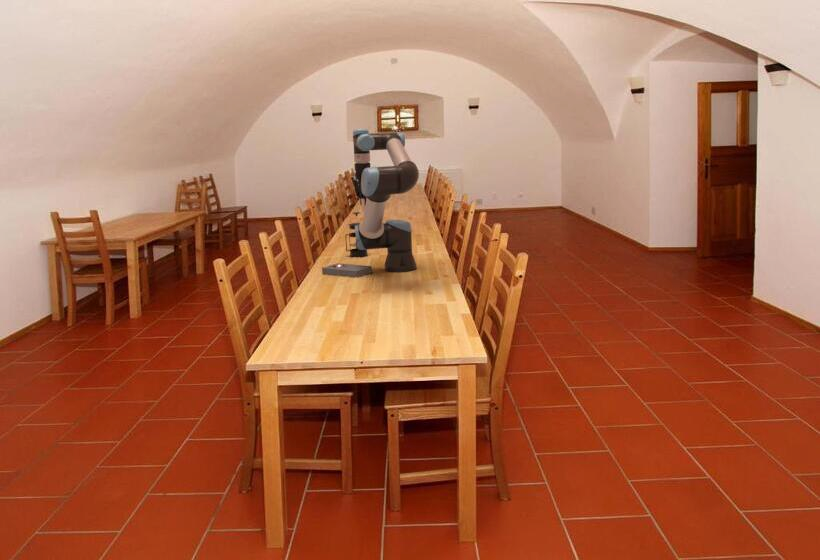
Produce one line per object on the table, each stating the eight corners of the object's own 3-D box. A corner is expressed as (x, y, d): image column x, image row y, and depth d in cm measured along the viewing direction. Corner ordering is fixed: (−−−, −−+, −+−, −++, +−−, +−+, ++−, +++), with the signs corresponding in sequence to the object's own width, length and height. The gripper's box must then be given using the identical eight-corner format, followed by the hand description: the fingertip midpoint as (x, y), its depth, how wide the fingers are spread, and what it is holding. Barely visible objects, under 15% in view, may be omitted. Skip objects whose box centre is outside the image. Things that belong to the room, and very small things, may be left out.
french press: (368, 253, 390) (366, 210, 385) (369, 256, 381) (367, 212, 376) (346, 255, 388) (343, 212, 383) (347, 258, 379) (344, 214, 374)
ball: (337, 264, 346) (340, 272, 346) (332, 265, 343) (334, 274, 343) (344, 262, 344) (346, 271, 344) (339, 264, 341) (341, 272, 341)
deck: (372, 272, 341) (371, 266, 341) (356, 277, 331) (356, 271, 331) (338, 269, 352) (337, 263, 351) (322, 274, 342) (321, 267, 341)
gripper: (346, 163, 347) (349, 212, 353) (369, 163, 341) (371, 213, 346) (355, 161, 354) (358, 210, 359) (378, 161, 347) (380, 211, 352)
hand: (364, 211), depth 352 cm, fingers closed
